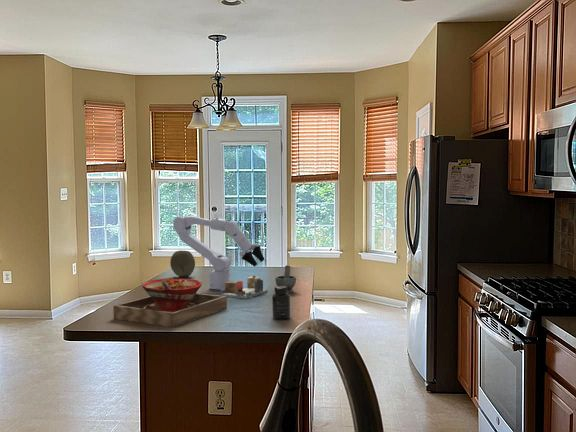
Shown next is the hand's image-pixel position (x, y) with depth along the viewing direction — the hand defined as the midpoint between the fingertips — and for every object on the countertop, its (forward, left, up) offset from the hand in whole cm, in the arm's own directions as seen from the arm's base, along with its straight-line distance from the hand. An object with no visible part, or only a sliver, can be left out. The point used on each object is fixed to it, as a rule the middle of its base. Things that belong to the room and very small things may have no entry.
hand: (259, 263), depth 262 cm
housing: (-4, +2, -13) cm, 14 cm away
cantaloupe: (-58, +14, -13) cm, 61 cm away
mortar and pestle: (+14, +2, -13) cm, 19 cm away
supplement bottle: (+37, -45, -13) cm, 60 cm away
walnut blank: (-9, -11, -13) cm, 19 cm away
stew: (-7, -58, -13) cm, 60 cm away
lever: (+1, -19, -12) cm, 22 cm away
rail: (-1, -19, -13) cm, 23 cm away
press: (+1, -9, -13) cm, 16 cm away
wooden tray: (-6, -57, -13) cm, 59 cm away
